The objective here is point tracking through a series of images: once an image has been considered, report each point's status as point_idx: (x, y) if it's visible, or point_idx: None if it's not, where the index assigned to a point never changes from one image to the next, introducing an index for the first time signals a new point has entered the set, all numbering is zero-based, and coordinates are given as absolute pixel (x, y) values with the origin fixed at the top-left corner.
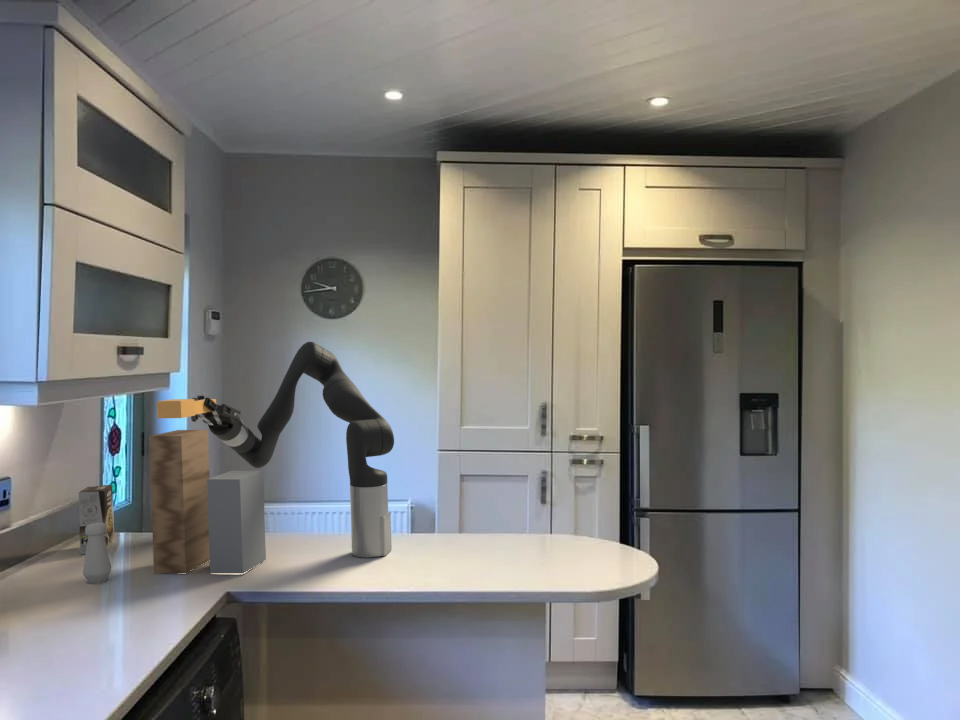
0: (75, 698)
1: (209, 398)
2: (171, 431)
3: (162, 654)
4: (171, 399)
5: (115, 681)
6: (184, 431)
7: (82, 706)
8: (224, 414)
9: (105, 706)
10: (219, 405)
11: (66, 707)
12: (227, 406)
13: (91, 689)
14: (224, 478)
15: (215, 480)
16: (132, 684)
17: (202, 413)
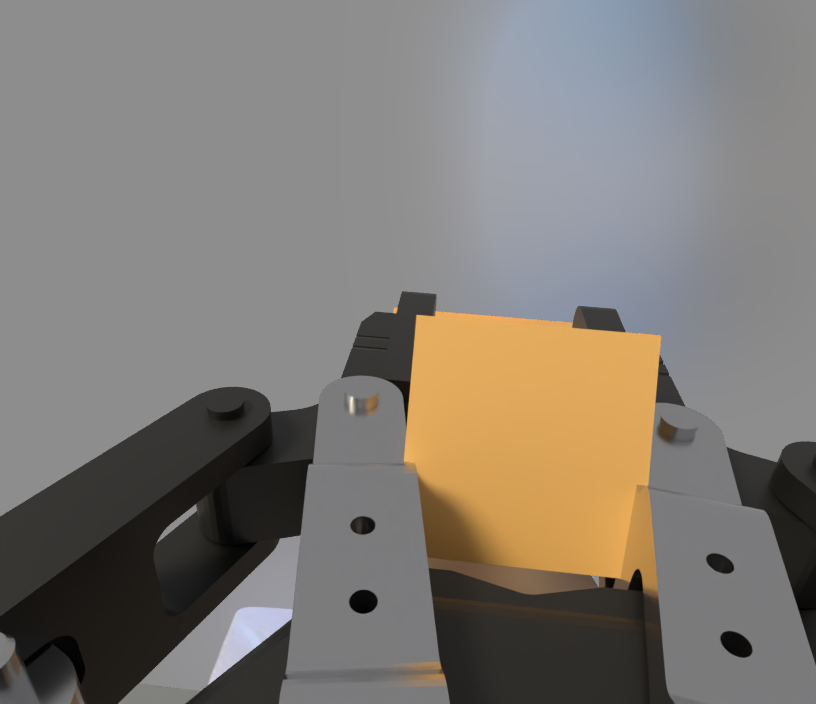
0: (285, 620)
1: (399, 303)
2: (587, 577)
3: (215, 674)
4: (564, 323)
5: (255, 636)
6: (473, 563)
7: (270, 612)
8: (202, 566)
9: (246, 610)
10: (295, 413)
11: (286, 612)
12: (158, 437)
13: (276, 629)
14: (135, 696)
15: (180, 694)
16: (232, 631)
17: (602, 580)
